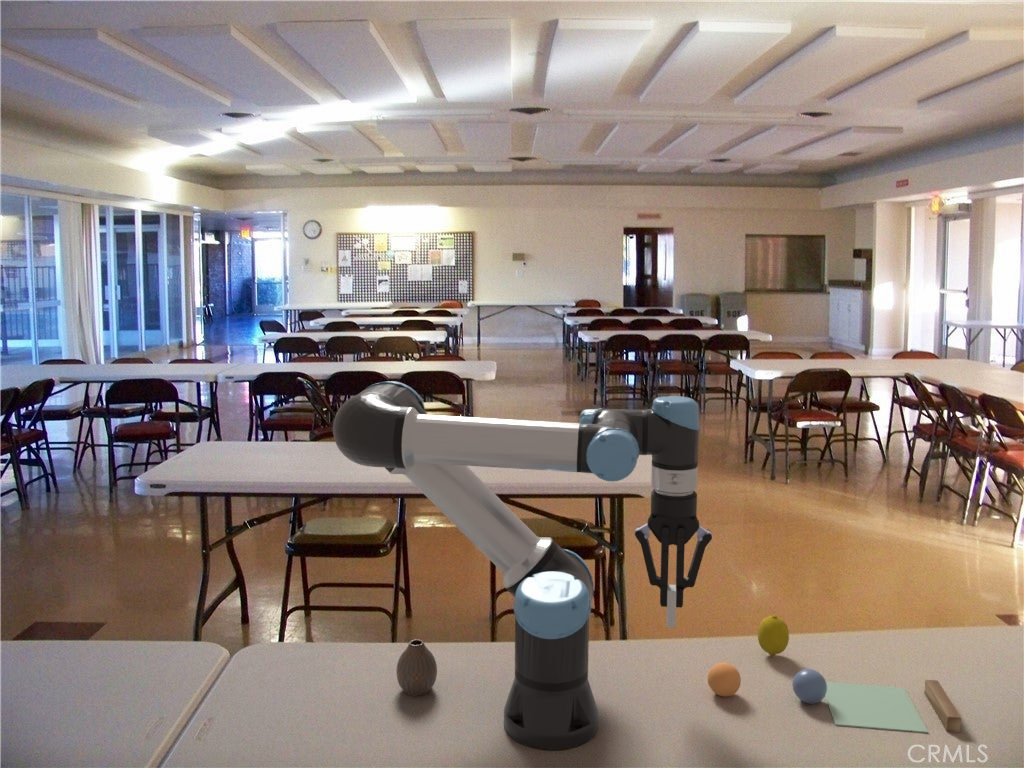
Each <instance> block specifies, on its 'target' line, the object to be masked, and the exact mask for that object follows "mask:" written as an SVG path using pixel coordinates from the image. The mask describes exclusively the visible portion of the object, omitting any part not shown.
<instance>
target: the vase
mask: <svg viewBox="0 0 1024 768" xmlns="http://www.w3.org/2000/svg"><path fill="white" fill-rule="evenodd" d="M437 676H438V666H437V661H436V658H435V656H434V655H433V653H432V651H430V649H429V648H428V647H427V646H426V644H425V642H424V641H423V640H421V639H412V640H410V641H409V643H408V644H407V647H406V648H405V649H404V650H403V652H402V653H401V655H400V656H399V658H398V661H397V664H396V679H397V680H396V681H397V683H398V685H399V687H400V688H401V690H402V691H403V692H404V693H406V694H408V695H410V696H412V697H415V696H416V697H417V696H419V697H420V696H422V695H423V696H424V695H425V694H427V693H428V692H430V690H432V688H433V687H434V685H435V683H436V680H437Z"/></svg>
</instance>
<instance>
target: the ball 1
mask: <svg viewBox="0 0 1024 768" xmlns="http://www.w3.org/2000/svg"><path fill="white" fill-rule="evenodd" d="M741 680H742V678H741V675H740V672H739V671H738V669H737V668H736V666H734V665H732V664H730V663H728V662H718V663H715V664H714V665H712V667H711V668H710V669H709V671H708V673H707V683H708V687H709V688H710V690H711V691H712V692H714V694H715V695H718V696H720V697H725V698H726V697H730V696H733V695H735V694H736V693H737V692H738V691H739V689H740V687H741V682H742V681H741Z"/></svg>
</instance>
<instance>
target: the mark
mask: <svg viewBox="0 0 1024 768" xmlns="http://www.w3.org/2000/svg"><path fill="white" fill-rule="evenodd" d="M826 684H827V692H826V695H825V697H824V698H825V701H826V703H827V706H828V709H829V711H830V714H831V716H832V720H833V723H834V725H835V726H839V727H840V726H843V727H853V728H854V727H855V728H864V729H875V730H876V729H878V730H888V731H900V732H911V731H912V733H913V732H914V733H924V734H929V730H928V729H927V727H926V725H925V723H924V721H923V720H922V717H921V716H920V714H919V713H918V710H917V708H916V707H915V705H914V703H913V701H912V699H911V698H910V695H909V694H908V692H907V690H906V689H905V687H899V686H898V687H897V686H883V685H872V684H871V685H870V684H859V683H848V682H847V683H846V682H837V681H835V682H832V681H826ZM919 720H920V721H919Z"/></svg>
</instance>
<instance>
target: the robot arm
mask: <svg viewBox="0 0 1024 768" xmlns="http://www.w3.org/2000/svg"><path fill="white" fill-rule="evenodd" d="M699 410H700V409H699V403H698V402H697V401H696V400H695V399H693V398H692V397H691V398H690V397H688V396H682V395H681V396H679V395H669V396H658V397H655V399H653V401H652V406H651V408H649V409H648V408H647V409H624V408H623V409H621V408H620V409H619V408H617V409H616V408H604V407H599V408H589V409H583V410H582V411H581V412H580V416H579V422H569V421H568V422H567V421H566V422H565V421H551V420H549V421H548V420H532V419H531V420H530V419H529V420H528V419H516V418H515V419H512V418H511V419H510V418H496V417H495V418H493V417H477V416H461V415H460V416H459V415H457V416H456V415H445V414H442V415H439V414H428V413H427V411H426V408H425V403H424V402H423V400H422V397H421V396H420V395H419V393H418V392H417V391H416V390H415V389H413V388H412V387H411V386H409V385H407V384H405V383H402V382H400V381H394V380H391V381H389V380H388V381H381V382H377V383H374V384H373V383H372V384H371V385H369V386H367V387H366V388H365V389H364V390H362V391H360V392H359V393H358V394H356V395H354V396H352V397H350V398H349V399H347V400H346V401H344V403H343V404H342V405H341V406H340V407H339V409H338V411H337V412H336V415H335V416H334V420H333V423H332V424H333V425H332V435H333V439H334V442H335V445H336V447H337V448H338V450H339V451H340V452H341V453H342V455H343V456H344V457H346V458H347V459H348V460H350V461H351V462H353V463H355V464H357V465H360V466H365V467H371V468H372V467H373V468H385V470H386V471H388V472H389V474H390V475H403V476H405V477H406V478H407V479H408V480H409V481H410V482H411V483H413V485H414V486H415V487H416V488H417V489H419V491H421V493H423V495H424V496H425V497H426V498H427V499H428V500H429V501H430V502H431V503H433V504H434V505H433V506H435V507H436V508H437V509H438V510H439V511H440V512H441V513H443V515H445V516H446V519H447V518H448V520H449V521H450V522H451V523H452V524H453V525H454V526H456V528H458V530H459V531H460V532H462V534H463V535H464V536H465V537H466V538H467V539H469V540H470V541H471V542H472V543H473V544H474V546H475V547H477V548H478V549H479V551H480V552H481V553H483V555H485V557H486V558H487V559H488V560H489V561H490V562H492V564H493V565H494V566H495V567H496V568H497V569H498V570H499V571H500V572H501V573H502V576H503V588H505V589H506V590H507V592H509V593H510V595H511V596H513V598H514V601H513V613H514V619H515V620H514V679H513V680H512V685H511V688H510V690H509V692H508V693H509V694H508V696H507V698H506V702H505V704H504V709H503V727H504V730H505V732H506V733H507V734H508V735H509V736H510V737H511V739H513V740H515V741H517V742H518V743H521V744H522V745H525V746H528V747H532V748H534V749H535V748H536V749H541V750H548V751H550V750H565V749H566V750H567V749H570V748H575V747H577V746H578V747H579V746H581V745H583V744H585V743H587V742H588V741H590V740H591V739H593V738H594V736H595V735H596V733H597V732H598V728H599V710H598V705H597V703H596V700H595V697H594V696H595V695H594V693H593V690H592V688H591V685H590V682H589V642H590V641H589V639H590V637H589V636H590V621H591V612H592V604H593V603H592V602H593V598H594V594H595V593H594V592H595V591H594V589H595V588H594V587H595V586H594V585H595V584H594V579H593V575H592V573H591V570H590V568H589V566H588V564H587V562H585V560H584V559H583V558H582V557H581V556H579V554H578V553H576V552H574V551H572V550H569V549H566V548H562V547H561V546H560V545H559V544H558V543H557V542H556V541H555V540H554V539H553V538H552V537H550V536H549V537H547V536H546V537H545V536H544V537H543V536H542V537H540V536H537V535H536V534H535V533H534V531H533V530H532V529H530V528H529V527H528V525H526V524H525V523H524V521H523V520H521V518H519V517H518V515H517V514H516V513H515V512H513V510H511V508H510V507H508V506H507V505H506V504H505V503H504V501H502V500H501V498H500V497H499V496H498V495H497V494H496V493H495V492H493V490H491V489H490V488H489V486H487V484H485V483H484V482H483V481H482V479H480V477H478V475H477V474H476V473H474V472H473V471H472V469H471V468H469V467H480V468H483V467H485V468H501V469H502V468H503V469H517V470H535V471H536V470H537V471H550V472H564V473H565V472H567V473H568V472H569V473H584V474H593V475H595V476H596V477H597V478H599V479H601V480H603V481H605V482H619V481H622V480H624V479H625V478H627V477H628V476H630V475H631V474H632V473H633V471H635V469H636V466H637V462H638V459H639V457H640V456H651V477H650V478H651V479H650V480H651V484H650V485H651V488H652V490H651V493H650V515H649V517H648V519H647V523H645V524H643V525H642V526H636V527H635V529H634V536H635V538H636V539H637V541H638V542H639V544H640V546H641V551H642V555H643V559H644V563H645V567H646V572H647V576H648V581H649V584H650V585H651V586H655V587H658V588H659V604H660V607H662V608H663V607H664V608H665V607H666V619H665V620H666V628H670V629H671V628H673V629H675V628H676V625H677V624H676V621H677V619H676V617H677V608H679V609H680V608H681V609H682V608H683V606H684V590H685V589H687V588H694V586H695V584H696V581H697V577H698V574H699V570H700V567H701V564H702V561H703V557H704V554H705V550H706V548H707V546H708V545H709V543H710V542H711V541H712V539H713V535H712V531H711V530H710V529H705V528H704V527H702V526H701V525H700V521H699V519H698V517H697V511H698V509H697V508H698V493H697V492H696V490H697V489H698V476H699V475H698V471H699V462H698V461H699V445H700V444H699V441H700V439H699V438H700V412H699ZM650 531H651V533H652V534H653V536H654V537H655V539H656V540H657V541H658V542H659V544H660V545H661V548H660V549H661V550H660V576H659V575H657V571H656V567H655V563H654V558H653V554H652V549H651V545H650V541H649V538H650ZM695 534H696V540H697V542H696V544H695V548H694V551H693V555H692V559H691V563H690V566H689V569H688V571H687V576H686V577H684V576H685V575H684V574H685V550H686V549H685V545H686V544H688V543H689V541H690V540H691V539H692V538H693V536H694V535H695ZM672 545H673V546H676V559H675V561H676V564H675V565H676V566H675V584H669V557H670V556H669V555H670V554H669V552H670V551H669V550H670V546H672Z"/></svg>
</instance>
